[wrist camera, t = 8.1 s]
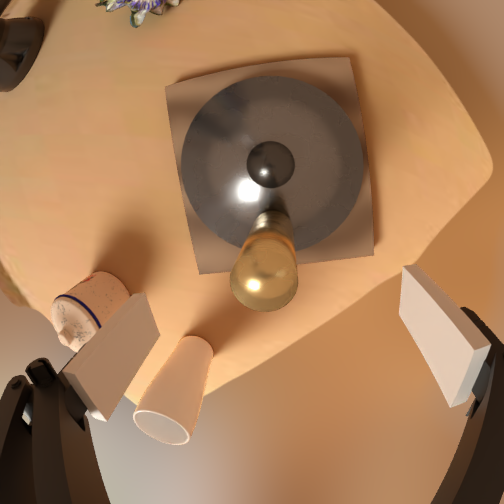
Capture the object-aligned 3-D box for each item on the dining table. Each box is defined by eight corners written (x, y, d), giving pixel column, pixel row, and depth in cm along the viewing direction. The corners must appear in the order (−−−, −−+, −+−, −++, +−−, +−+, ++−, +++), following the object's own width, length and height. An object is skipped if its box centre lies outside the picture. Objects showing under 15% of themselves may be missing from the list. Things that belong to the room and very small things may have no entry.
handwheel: (192, 249, 31) (136, 310, 18) (183, 88, 25) (114, 49, 12) (356, 250, 29) (399, 315, 16) (356, 82, 23) (406, 33, 10)
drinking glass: (229, 353, 37) (203, 439, 23) (198, 371, 39) (167, 449, 25) (194, 321, 36) (152, 403, 22) (165, 342, 38) (121, 417, 24)
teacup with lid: (95, 256, 35) (41, 291, 24) (143, 294, 36) (98, 343, 25) (77, 309, 39) (35, 347, 28) (118, 343, 40) (82, 389, 29)
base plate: (169, 89, 27) (164, 86, 25) (346, 61, 23) (349, 57, 22) (202, 269, 33) (199, 274, 32) (370, 251, 30) (373, 255, 29)
